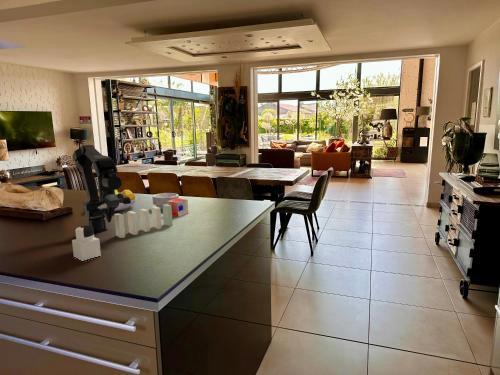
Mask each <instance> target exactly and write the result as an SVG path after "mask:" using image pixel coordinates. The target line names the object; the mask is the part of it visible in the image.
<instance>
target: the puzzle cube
mask: <svg viewBox="0 0 500 375" xmlns="http://www.w3.org/2000/svg"><path fill="white" fill-rule="evenodd" d="M188 202H189V201H188V199H185V198H179V199H178V198H176V199H173V200H169V201H167V205H171V207H172V217H178V218H179V217H182V216H185V215H188V214H189V204H188Z"/></svg>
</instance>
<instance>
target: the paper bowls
mask: <svg viewBox="0 0 500 375" xmlns="http://www.w3.org/2000/svg"><path fill="white" fill-rule="evenodd" d="M176 198H178V199H180V198H179V194H178V193H174V192H173V193H172V192H164V193H157V194H153V195H152V204H153V205H154V206H156V207H159V208H160V211H163V205H164V204H167V201H169V200H173V199H176Z"/></svg>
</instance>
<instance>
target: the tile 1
mask: <svg viewBox="0 0 500 375" xmlns="http://www.w3.org/2000/svg"><path fill="white" fill-rule="evenodd" d="M113 215H114V218H113V219H114V227H115V228H114V229H115V236H116V237H117V238H119V239H123V238H126V231H125V223H124V222H125V221H124V220H125V219H124V215H123V214H121V213H113Z"/></svg>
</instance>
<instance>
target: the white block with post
mask: <svg viewBox="0 0 500 375" xmlns="http://www.w3.org/2000/svg"><path fill="white" fill-rule="evenodd" d="M71 243H72V244H71V245H72V251H73V252H72V253H73V258H74V257H76V258H78V259H79V260H81V261H84V260H87V259H90V258H94V257H98V256H100V257H101V256H102V253H101V244H100V243H101V242H100V238H98V237H96V236H95V233H94V230H93V227H92V226H89V224H87V225H81V226H78V227H76V228H75V239H72V240H71ZM76 258H75V259H76ZM98 258H99V257H98ZM94 259H95V258H94ZM79 260H78V261H79ZM81 261H80V262H81Z"/></svg>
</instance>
